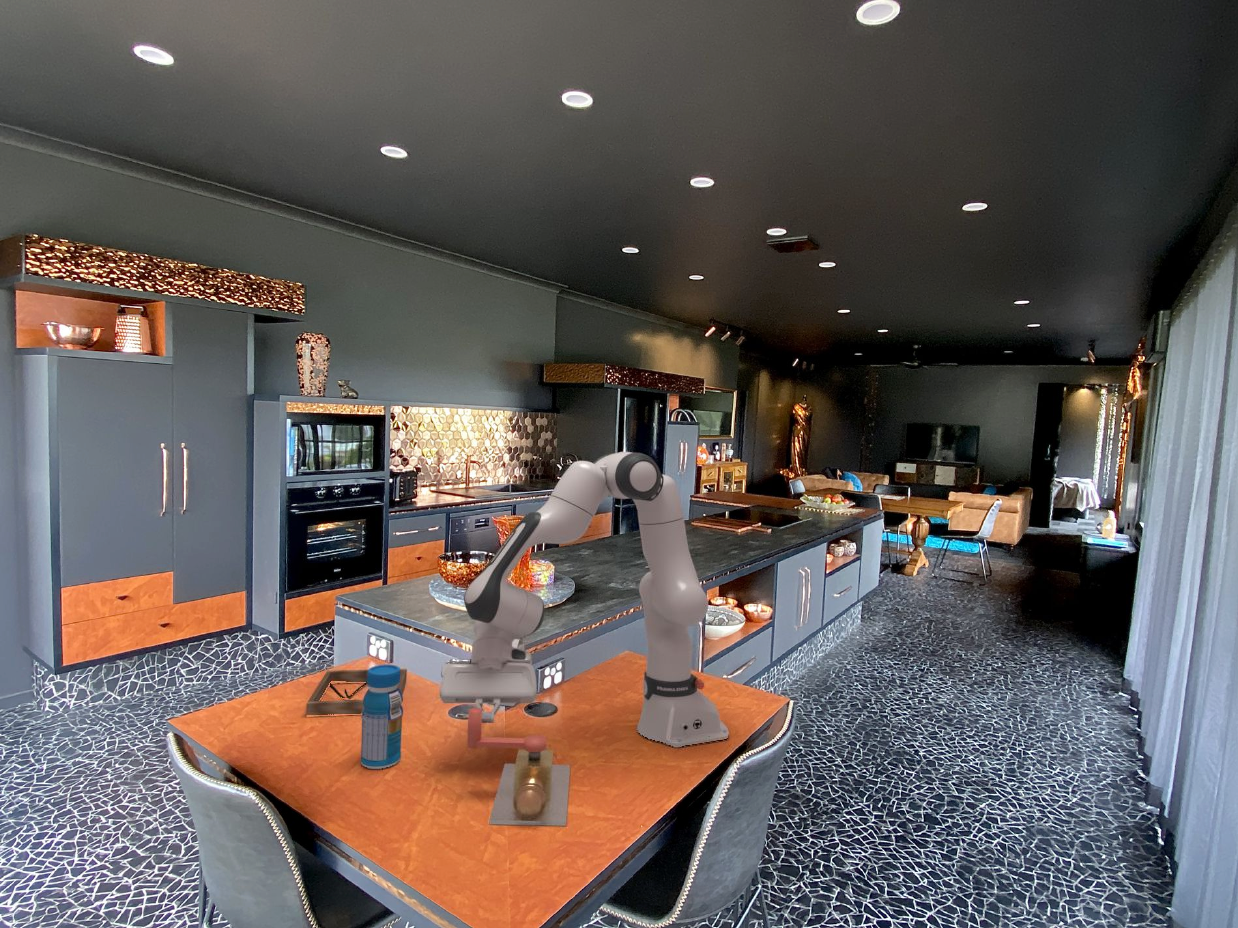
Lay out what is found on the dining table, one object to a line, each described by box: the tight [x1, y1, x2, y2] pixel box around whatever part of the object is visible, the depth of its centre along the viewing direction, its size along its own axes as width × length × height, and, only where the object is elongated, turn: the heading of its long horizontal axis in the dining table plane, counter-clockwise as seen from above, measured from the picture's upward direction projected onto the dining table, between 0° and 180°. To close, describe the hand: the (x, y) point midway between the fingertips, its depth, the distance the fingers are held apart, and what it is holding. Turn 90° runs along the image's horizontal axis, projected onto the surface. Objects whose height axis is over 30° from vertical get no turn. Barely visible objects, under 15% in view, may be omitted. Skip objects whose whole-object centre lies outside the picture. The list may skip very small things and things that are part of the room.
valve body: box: [488, 747, 571, 827], centre depth 134 cm, size 22×14×9 cm, turn 2°
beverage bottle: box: [360, 664, 404, 770], centre depth 145 cm, size 8×8×20 cm
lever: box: [466, 707, 547, 752], centre depth 134 cm, size 16×4×7 cm, turn 92°
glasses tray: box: [305, 668, 408, 716], centre depth 180 cm, size 21×24×4 cm
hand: (486, 721), depth 139 cm, fingers closed
